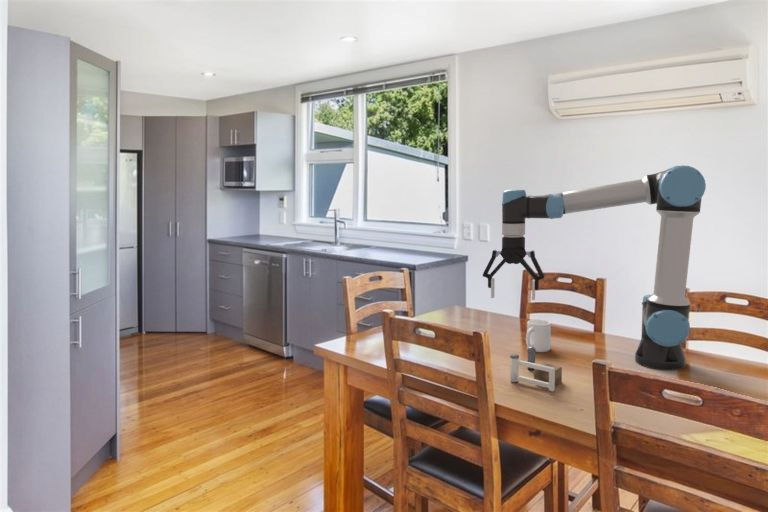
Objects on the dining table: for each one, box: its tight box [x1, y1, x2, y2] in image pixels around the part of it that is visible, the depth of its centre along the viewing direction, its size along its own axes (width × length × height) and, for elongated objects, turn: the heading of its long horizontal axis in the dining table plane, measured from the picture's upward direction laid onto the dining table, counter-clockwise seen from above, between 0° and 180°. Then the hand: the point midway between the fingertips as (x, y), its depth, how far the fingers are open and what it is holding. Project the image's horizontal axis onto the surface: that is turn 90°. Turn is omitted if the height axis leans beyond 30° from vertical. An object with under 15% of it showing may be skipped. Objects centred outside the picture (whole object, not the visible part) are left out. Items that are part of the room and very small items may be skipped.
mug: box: [525, 319, 552, 353], centre depth 199 cm, size 12×8×10 cm
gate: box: [509, 353, 556, 392], centre depth 163 cm, size 14×3×8 cm, turn 46°
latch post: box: [526, 347, 537, 372], centre depth 178 cm, size 3×3×8 cm
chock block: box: [533, 362, 563, 387], centre depth 166 cm, size 6×6×5 cm
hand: (512, 298), depth 184 cm, fingers open, 13 cm apart
